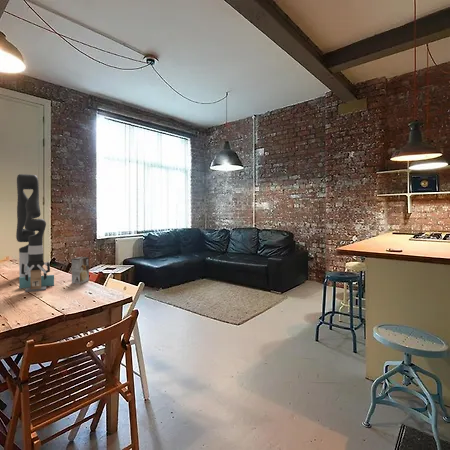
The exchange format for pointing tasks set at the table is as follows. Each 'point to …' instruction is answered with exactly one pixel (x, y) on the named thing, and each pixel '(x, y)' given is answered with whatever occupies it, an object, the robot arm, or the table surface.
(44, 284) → the teal board
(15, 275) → the table surface
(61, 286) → the table surface
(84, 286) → the table surface
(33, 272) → the wooden block
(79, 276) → the coffee box
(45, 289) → the dark gray upright panel
